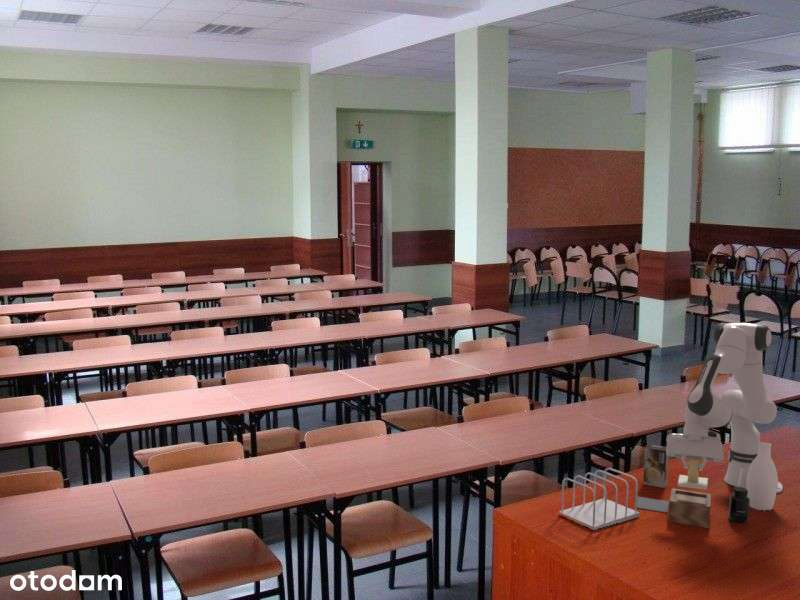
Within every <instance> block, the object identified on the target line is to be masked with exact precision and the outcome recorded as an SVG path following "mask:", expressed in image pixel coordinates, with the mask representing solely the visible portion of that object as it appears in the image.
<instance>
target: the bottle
mask: <svg viewBox="0 0 800 600" xmlns="http://www.w3.org/2000/svg"><path fill="white" fill-rule="evenodd" d="M771 449H772V444H771V443H770V442H766V441H760V442H759V449H758V455H757V456H756V458H755V459H754V460H753V461H752V463H751V465H750V467H749V470H748V474H747V483H746V489H747V490H748V495H747V497H749V499H750V507H749V508H751V509H753V508H754V509H753V510H756V509H757V511H761V510H763V511H762V512H767V511H766V510H769V511H772V510H773V508H774V504H775V501H776V498H777V493H776V492H777V485H778V482H779V478H778V471H777V468H776V464H775V462H774V461H773V459H772V456H771V454H772V453H771V452H772V450H771Z"/></svg>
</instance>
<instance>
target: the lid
mask: <svg viewBox="0 0 800 600" xmlns="http://www.w3.org/2000/svg"><path fill="white" fill-rule="evenodd" d="M687 459H688V458H687ZM687 463H688V469H687V475H685V474H679V477H678V480H677V481H678V482H677V487H681V488H687V489H689V488H691V489H695V490H696V489H698V490H705V491H707V489H708V482H709V481H708V480H709V478H707V477H700V476H699V475H700V474H699V473H700V470H699V464H700V460H698V459H688V461H687Z"/></svg>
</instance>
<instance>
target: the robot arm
mask: <svg viewBox="0 0 800 600" xmlns="http://www.w3.org/2000/svg"><path fill="white" fill-rule="evenodd" d="M772 339H773V338H772V332H771V329H770V328H769V327H768V325H764V324H761V323H758V324H756V323H752V322H751V323H750V322H728V323H727V322H720V323H718V324H717V325H715V327H714V329H713V332H712V340H713V343H714V345H716V348H715V351H714V353H713V354H712V355H709V356H708V357H707V358H706V360H705V362H704V364H703V366H702V368H701V371H700V373H699V375H698V378H697V380H696V382H695V385H694V386H693V389H692V390H691V391H690V393H689V394H688V396H687V401H686V402H687V403H686V406H685V413H684V420H685V423H684V425H683V434H682V433H675V432H674V433H673V432H672V433H669V434H668V435H667V436H666V440H665V441H666V443H667V444H666V446H665V447H666V454H667V455H668V457H669V458H670V457H671V458H680V459H681V461H682V463H683V469H686V470H688V461H686V459H698V460H699V461H702V462H701V463H699V471H704V467H705V466H706V464H707V462H715V463H716V462H717V463H722V462H723V461H724V446H723V443H722V441H721V434H720V433H718V432H716V431H713V430H710V429H709V428H713V429H714V428H721V427H725V426H727V425H730V430H731V432H730V433H731V436H730V437H731V439H730V448H729V450H728V466H727V470H726V474H725V477H724V479H723V480H724V482H725V483H726V484H728V485H730V486H732V487H734V488H735V487H742V488H745V489H746V483H747V474H748V470H749V467H750V465H751V463H752V461H753V460H754V459H755V458H756V456H757V455H758V449H759V442H761V434H760V431H759V430H758V429H757V427H756V425H755V423H757V424H765V425H766V424H771V423H772V422H773V421H774V420H775V419H776V417H777V413H778V408H777V405H776V404H775V402H774V401H773V400H772V399H771V397H770V395H769V394H768V392H767V388H766V386H765V382H764V373H763V372H764V371H763V351H766V350H767V349H769V347H770V346H771V342H772ZM718 374H724V375H727V374H728V375H730V374H733V381H735V383H736V384H737V385H738V387H739V389H727V390H726V391H724V392H723V393H722V395H721V397H720V398H719V397H718V396H717V395H715V394H714V393H713V390H712V387H713V386H714V383H715V381H716V378H717V376H718ZM783 487H784V486H783V484H782V483H781V482H780V481H778V485H777V492H776V494H780V493H781V492H783Z"/></svg>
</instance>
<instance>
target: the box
mask: <svg viewBox="0 0 800 600" xmlns="http://www.w3.org/2000/svg"><path fill="white" fill-rule="evenodd" d="M669 497H670V498H669V506H668V517H667V519H668V520H667V522H670V523H675V524H683V525H688V526H694V527H701V528H707V529H709V528H710V515H711V502H712V501H711V499H712V494H711V493H708V492H707V493H706V492H705V493H704V492H699V491H694V490H693V491H692V490H686V489H680V488H674V487H671V491H670V496H669Z"/></svg>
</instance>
